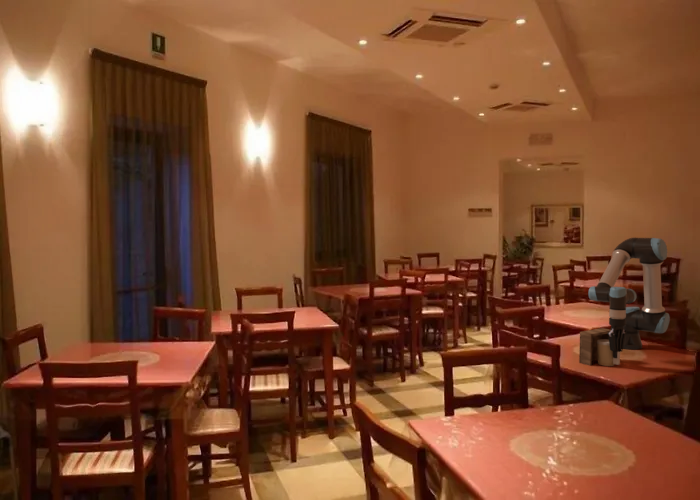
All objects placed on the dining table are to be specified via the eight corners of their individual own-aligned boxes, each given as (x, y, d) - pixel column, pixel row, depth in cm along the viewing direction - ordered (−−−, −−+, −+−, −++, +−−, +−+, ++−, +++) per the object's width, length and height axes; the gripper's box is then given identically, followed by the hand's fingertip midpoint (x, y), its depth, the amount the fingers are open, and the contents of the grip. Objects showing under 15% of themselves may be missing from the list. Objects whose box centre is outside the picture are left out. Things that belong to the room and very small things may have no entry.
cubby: (600, 358, 297) (601, 328, 296) (611, 360, 292) (612, 330, 291) (579, 362, 288) (579, 331, 287) (590, 365, 282) (590, 334, 281)
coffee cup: (613, 362, 289) (614, 339, 288) (618, 367, 279) (619, 343, 279) (594, 361, 290) (595, 338, 290) (598, 366, 281) (599, 342, 281)
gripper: (618, 315, 285) (617, 360, 286) (602, 317, 278) (601, 364, 280) (632, 317, 279) (631, 363, 280) (616, 320, 272) (615, 367, 273)
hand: (616, 364), depth 280 cm, fingers closed
